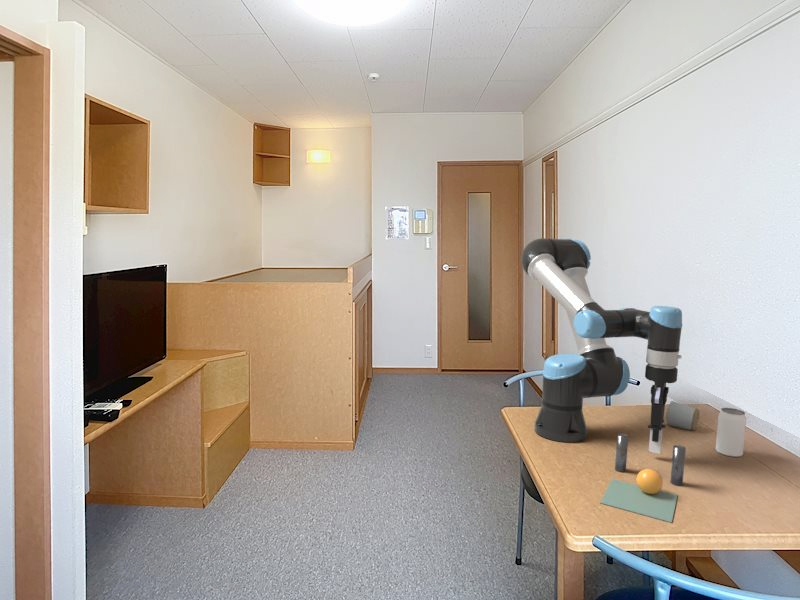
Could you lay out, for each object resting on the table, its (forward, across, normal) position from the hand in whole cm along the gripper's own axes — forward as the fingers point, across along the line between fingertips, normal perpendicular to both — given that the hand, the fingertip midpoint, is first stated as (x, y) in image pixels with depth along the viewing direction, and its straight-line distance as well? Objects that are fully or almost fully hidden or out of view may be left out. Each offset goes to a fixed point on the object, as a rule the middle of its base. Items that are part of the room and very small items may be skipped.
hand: (654, 451), depth 138 cm
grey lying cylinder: (+2, +34, -4) cm, 34 cm away
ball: (-1, -22, -1) cm, 22 cm away
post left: (+2, -13, +6) cm, 15 cm away
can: (+2, +17, -17) cm, 24 cm away
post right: (+2, -13, -6) cm, 15 cm away
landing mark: (+2, -27, 0) cm, 27 cm away
